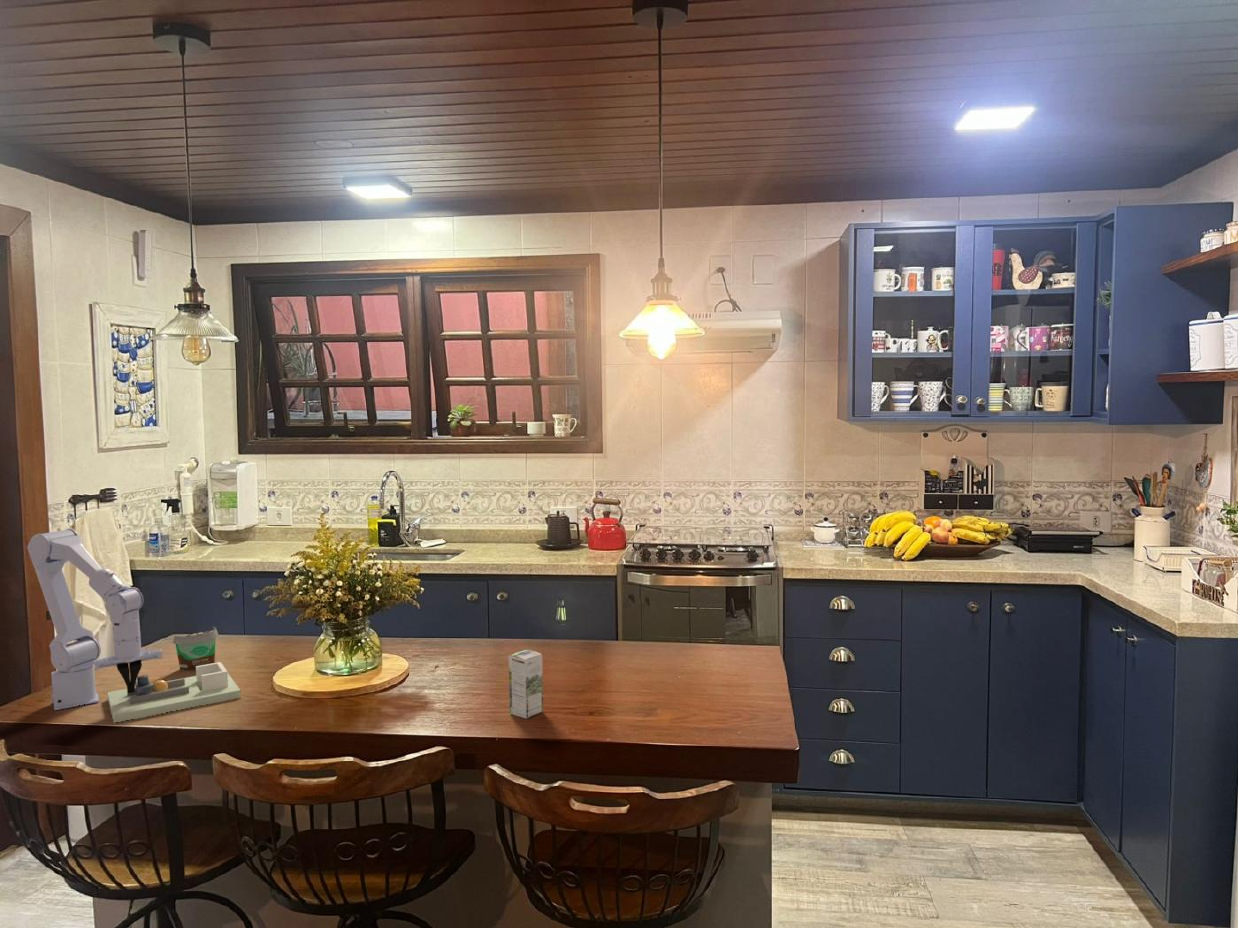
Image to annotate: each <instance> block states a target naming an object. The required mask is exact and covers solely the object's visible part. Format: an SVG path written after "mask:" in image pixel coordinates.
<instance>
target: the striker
mask: <svg viewBox="0 0 1238 928" xmlns="http://www.w3.org/2000/svg"><path fill="white" fill-rule="evenodd" d="M151 684H152V683H151V682H150V680H149V674H143V675H138V676H137V679H136V683H135V687H136V695H137V696H139V695H144V694H150V693H152V687H151Z"/></svg>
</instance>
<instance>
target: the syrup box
mask: <svg viewBox="0 0 1238 928" xmlns="http://www.w3.org/2000/svg"><path fill="white" fill-rule="evenodd" d="M543 674H544V673H543V654H542V653H540V652H538V651H535V650H531V649H524V650H522V651H518V652H514V653H513V654H509V655H508V680H509V682H508V683H509V713H510V715H513V716H516V717H518V718H522V719H526V720H527V719H530V718H531V717H534V716H537V715H538V714H541V713H543V712H544V692H543V691H544V688H543V685H544V684H543V680H544V679H543Z"/></svg>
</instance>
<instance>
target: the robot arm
mask: <svg viewBox="0 0 1238 928" xmlns="http://www.w3.org/2000/svg"><path fill="white" fill-rule="evenodd" d="M27 552H28V555H29V557H30V561H31V563H32V566H33V568H34V570H35V574H36V576H37V580H38V582H39V586H40V588H41V591H42V594H43V596H44V600H45V604H46V607H47V609H48V612H49V615H50V617H51V621H52V623H53V627H54V630H55V633H56V635H55V637H54V638H53V639H52V640H51V642H50V644H49V646H48V647H49V649H50V662H51V664H52V666H53V667H54V668H55V669H56V670H55V671H51V686H52V693H51V694H50V696H51V702H53V710H54V711H57V710H58V711H59V710H63V709H69V708H73V707H74V708H75V707H78V706H79V705H80V706H84V704H85V705H89V704H95V703H99V702H100V699H99V695H98V692H97V691H96V689H97V688H96V679H95V678H96V676H95V671H97V670H101V669H104V668H110V667H116V668H117V671H118V672H119V674H120V675H121V677H122V678H123V681H124V682H125V686H126V689H127V690H128V693H133V692H134V689H135V687H136V685H135V683H136V682H137V677H139V674H140V671H141V669H142V666H143V664H142V662H144V661H150V660H160V659H161V660H162V659H163V651H162V649H153V650H142V642H141V640H142V639H141V626H140V613H139V612H140V610H141V608H142V607H143V606H144V595H143V593H142V592H141V590H140V589H139V588H137V587H132V586H130V585H127V584H125V583H124V581H122V580H121V578H119V577H118V576H117V575H116V574H115V572H114V571H113V570H111V569H109V568H102V567H101V566H100V564H99V563H98V562H97V561H96V559H94V558H93V555H91V554H90V553H89V552H88V550H87V549H86V548H85V547H84V541H83V537H82V536H80V534H79V533H78V532H77V531H76V530H75V529H73V528H66V529H63V530H57V531H56V530H55V531H52V532H45V533H37V534H34V535H33V536H32V537H31V538H30V541H29V542H28V544H27ZM68 562H69V563H71V564H72V565H73V566H75V568H77V569H78V570H79V571H81V573H83V574H84V575H85V576H86V577H87V578H89V580H88V586H89V587H90V588H91V589H92V590H93V591H95V593H96V594H98V596H99V597H100V598H101V599H102V600H103V601H104V602H105V604H104V608H105V611H106V612H107V613H108V615H109V621H110V623H112V632H113V644H114V655H112V656H108V657H105V658H100V656H101V653H102V649H101V648H102V647H101V644H100V642H98V640H97V639H96V637H95V635H94V634H93V631H92V630H90V629H88V628H85V627H83V626H82V625H81V622H80V619H79V618H80V617H79V616H78V613H77V610H76V607H75V605H74V604H75V603H74V601H73V598H72V596H71V593H70V589H69V587H68V586H69V585H68V584H67V581H66V578H65V575H64V573H63V568H64V566H65V564H66V563H68ZM99 658H100V659H99Z"/></svg>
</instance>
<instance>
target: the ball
mask: <svg viewBox="0 0 1238 928" xmlns="http://www.w3.org/2000/svg"><path fill="white" fill-rule="evenodd" d="M166 681H167V680H166ZM166 681H165V680H163V679H157V680H156V681H154V683H152V684H153V686H152V690H153V692H154V693H155V692H160V691H166V690H167V688H168V684H167V682H166Z"/></svg>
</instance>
